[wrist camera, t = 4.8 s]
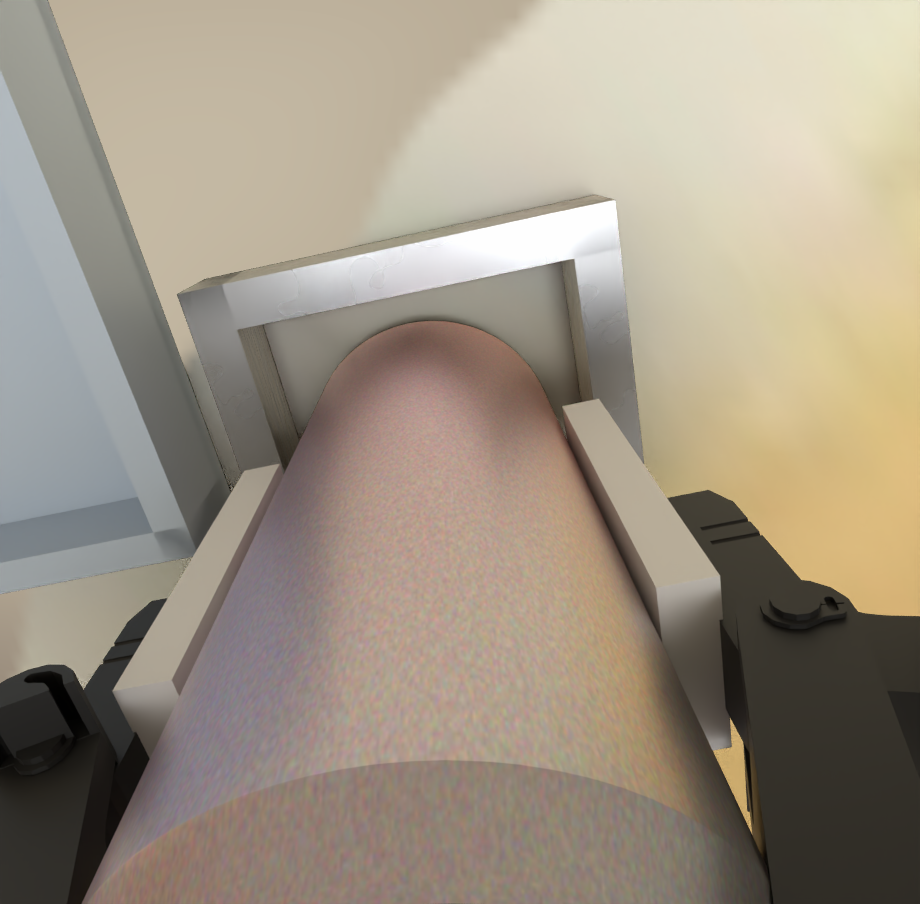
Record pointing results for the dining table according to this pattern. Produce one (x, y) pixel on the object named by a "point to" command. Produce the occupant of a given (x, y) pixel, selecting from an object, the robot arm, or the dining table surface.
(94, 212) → the tray
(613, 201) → the socket collar
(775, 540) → the dining table surface
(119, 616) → the dining table surface
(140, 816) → the beverage can
